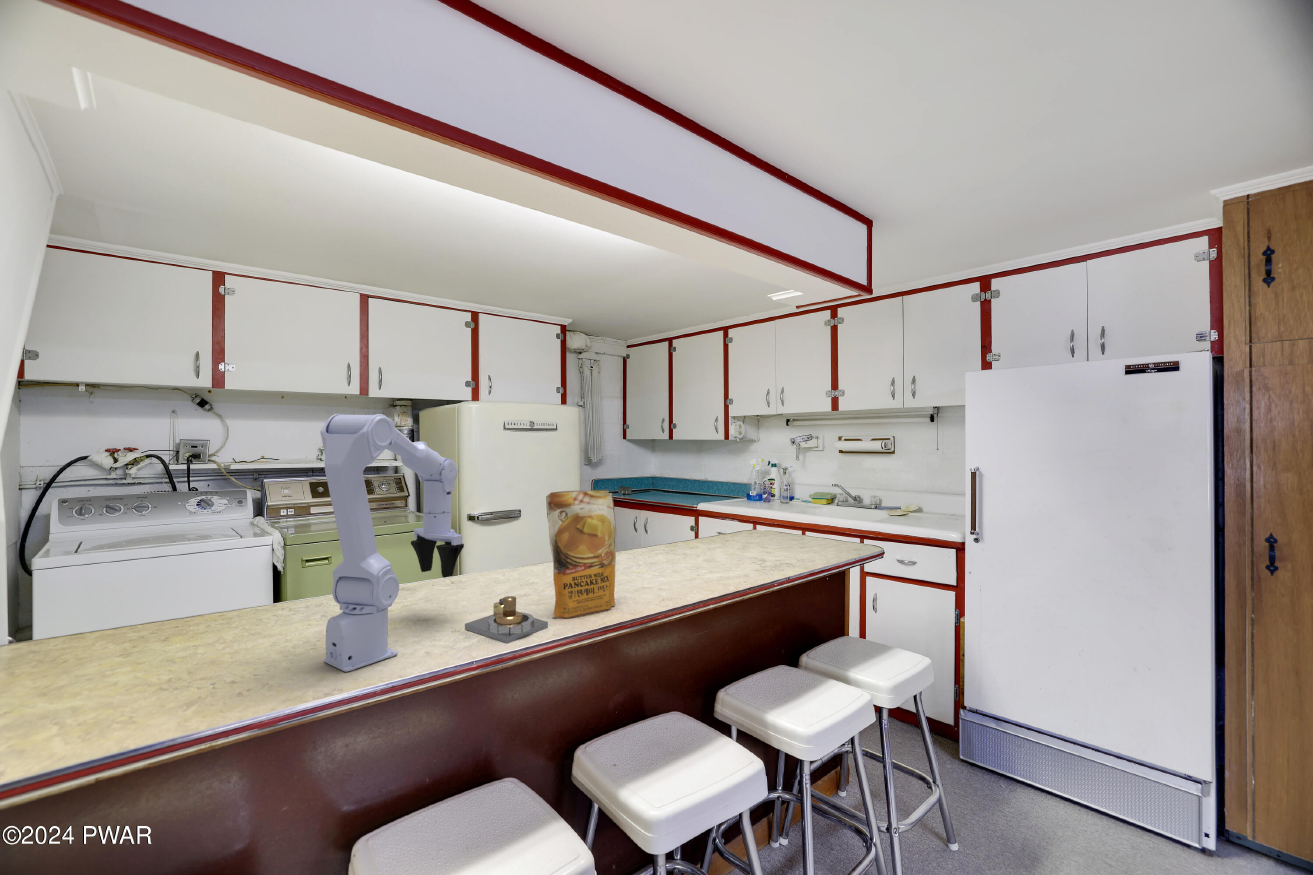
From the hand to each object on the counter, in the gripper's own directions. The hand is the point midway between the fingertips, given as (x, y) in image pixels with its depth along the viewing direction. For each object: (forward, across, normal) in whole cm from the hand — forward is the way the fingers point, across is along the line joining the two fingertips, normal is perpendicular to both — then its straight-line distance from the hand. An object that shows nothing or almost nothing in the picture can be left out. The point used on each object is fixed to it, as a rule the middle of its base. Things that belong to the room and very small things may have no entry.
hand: (436, 573), depth 121 cm
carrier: (+10, -17, -5) cm, 20 cm away
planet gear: (+9, -20, -4) cm, 22 cm away
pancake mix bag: (+10, -22, -23) cm, 34 cm away
